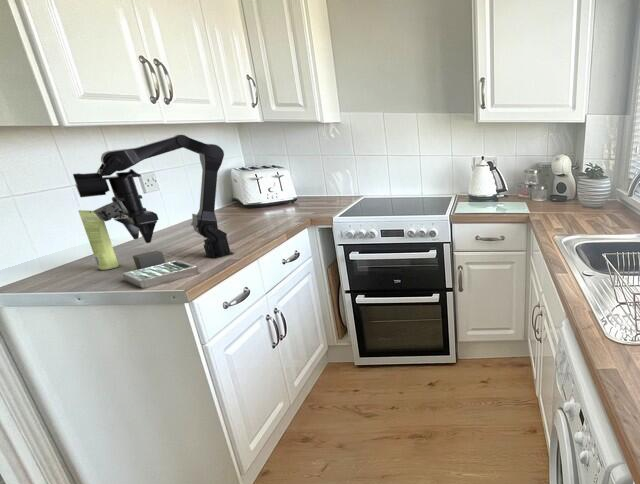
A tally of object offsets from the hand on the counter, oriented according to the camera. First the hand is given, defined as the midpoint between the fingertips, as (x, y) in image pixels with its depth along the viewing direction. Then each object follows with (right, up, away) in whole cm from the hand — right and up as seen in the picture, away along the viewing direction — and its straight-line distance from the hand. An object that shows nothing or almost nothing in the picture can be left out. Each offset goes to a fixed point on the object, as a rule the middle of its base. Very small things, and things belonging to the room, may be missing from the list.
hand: (142, 240), depth 134 cm
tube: (-15, -9, +4) cm, 18 cm away
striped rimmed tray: (+10, -12, -4) cm, 16 cm away
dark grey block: (0, -9, +4) cm, 10 cm away
